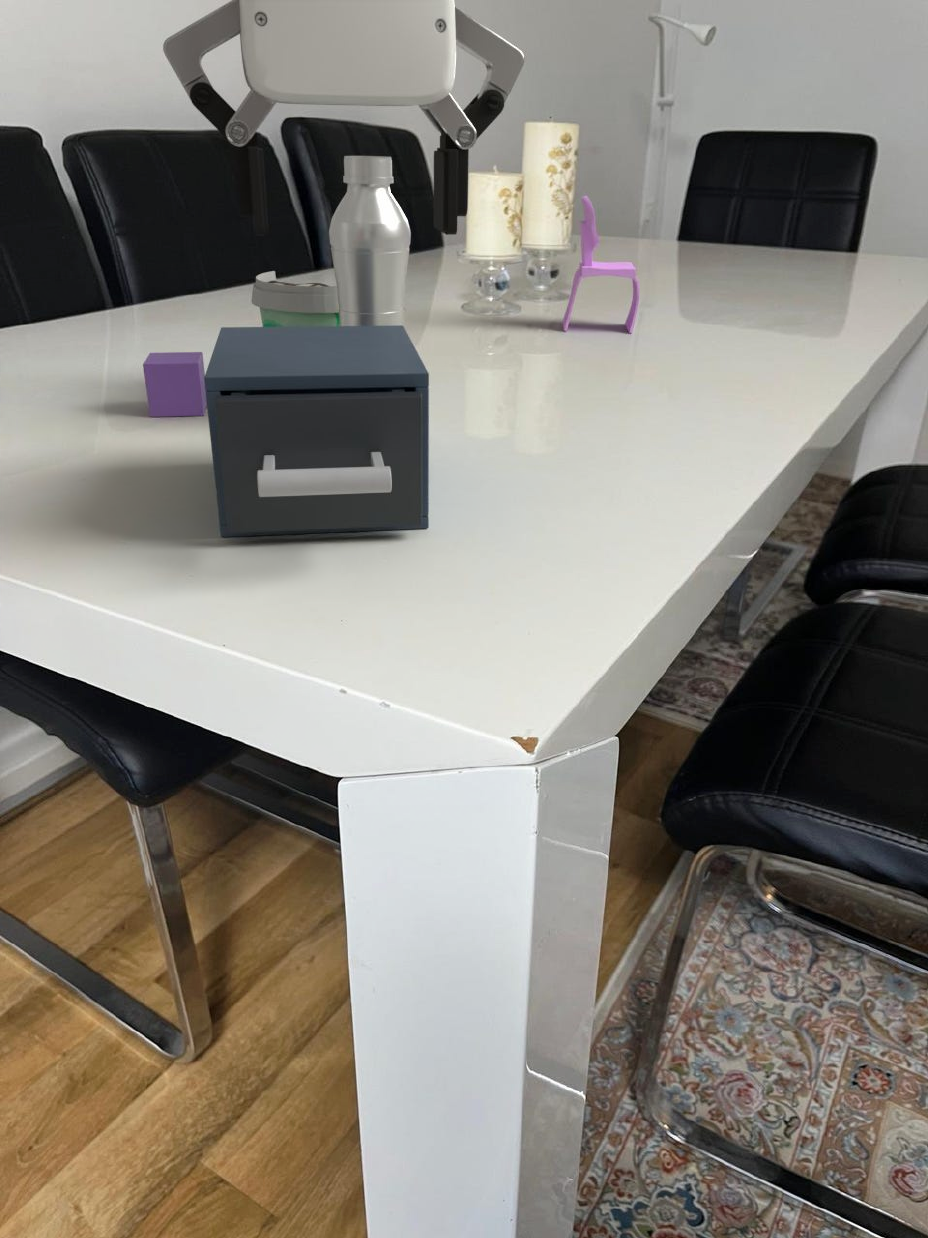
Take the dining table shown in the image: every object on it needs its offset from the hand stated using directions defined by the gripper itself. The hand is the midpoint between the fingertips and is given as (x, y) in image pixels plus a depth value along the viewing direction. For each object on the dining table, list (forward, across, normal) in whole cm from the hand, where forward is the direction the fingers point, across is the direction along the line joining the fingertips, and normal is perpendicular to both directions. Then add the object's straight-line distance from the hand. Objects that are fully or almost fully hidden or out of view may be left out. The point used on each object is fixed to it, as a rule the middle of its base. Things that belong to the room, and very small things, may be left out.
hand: (354, 232), depth 50 cm
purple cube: (+17, +12, -31) cm, 38 cm away
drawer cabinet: (+17, +2, -8) cm, 19 cm away
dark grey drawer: (+16, +2, -4) cm, 17 cm away
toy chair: (+17, -36, -63) cm, 75 cm away
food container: (+17, +2, -34) cm, 39 cm away
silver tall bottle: (+17, -4, -26) cm, 31 cm away
